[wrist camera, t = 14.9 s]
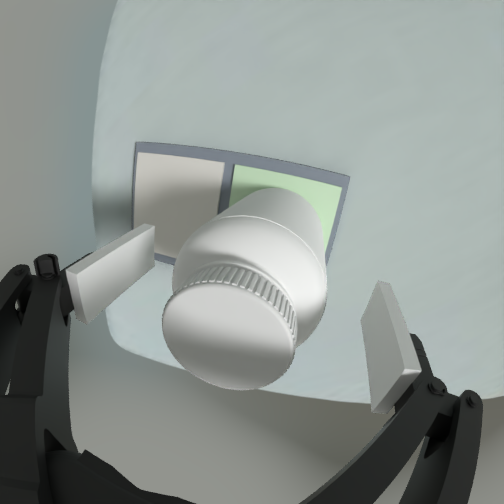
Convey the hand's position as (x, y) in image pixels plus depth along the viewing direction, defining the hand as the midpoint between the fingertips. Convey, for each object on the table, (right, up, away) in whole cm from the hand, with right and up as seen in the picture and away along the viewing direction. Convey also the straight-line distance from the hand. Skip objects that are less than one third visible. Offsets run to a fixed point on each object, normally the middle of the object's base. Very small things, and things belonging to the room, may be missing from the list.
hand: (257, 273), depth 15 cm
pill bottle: (+2, +3, +9) cm, 9 cm away
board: (-3, +4, +10) cm, 11 cm away
